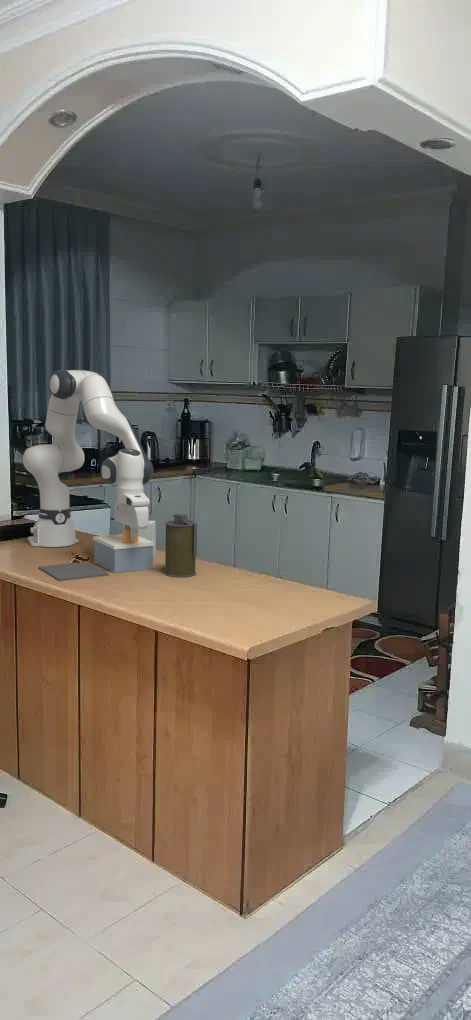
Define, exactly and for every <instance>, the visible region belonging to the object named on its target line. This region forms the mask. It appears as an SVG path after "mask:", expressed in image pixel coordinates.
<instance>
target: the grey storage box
mask: <svg viewBox="0 0 471 1020" xmlns="http://www.w3.org/2000/svg"><path fill="white" fill-rule="evenodd" d="M93 561H94V562H93V563H95V564H97V565H98V566H100V567H103V568H104V569H106V570H107V571H110V572H113V573H114V574H117V573H118V574H119V573H127V572H135V571H137V572H138V571H144V570H153V568H154V565H153V564H154V556H153V546H146V547H135V548H125V549H112V548H110V547H108V546H105V545H103V544H101V543H98V542H96V541H94V540H93Z"/></svg>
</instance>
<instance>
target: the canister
mask: <svg viewBox="0 0 471 1020" xmlns="http://www.w3.org/2000/svg"><path fill="white" fill-rule="evenodd" d="M172 517H173V518H174V519H173V520H168V521H165V522H164V524H165V556H164V557H165V564H164V565H165V569H164V575H165V576H168V577H171V578H188V577H189V578H191V577H193V576H195V575H197V572H196V556H198V547H197V546H198V523H197V522H196V521H194V520H189V519H188V515H187V514H186V513H185V514H183V513H182V514H181V513H176V514H173V515H172Z"/></svg>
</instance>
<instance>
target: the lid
mask: <svg viewBox="0 0 471 1020" xmlns="http://www.w3.org/2000/svg"><path fill="white" fill-rule="evenodd" d="M121 532H122V533H121V534H120V533H119V534H110V535H108V534H107V535H98V536H97V535H95V536H92V541H93V542H94V541H96V542H98V543H101V544H103V545H105V546H108V547H110V548H112V549H125V548H135V547H146V546H154V542H152V541H150V540H147V539H144V538H142V537H139V536H138V530H137V532H136V538H135V539H130V538H129V534H130V532H131V529H124V528H123V529H122V530H121Z"/></svg>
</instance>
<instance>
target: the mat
mask: <svg viewBox="0 0 471 1020" xmlns="http://www.w3.org/2000/svg"><path fill="white" fill-rule="evenodd" d="M38 569H39V570H41V571H42V572H44V573H46V574H47V575H49V576H51V578H54V580H57V581H58V582H62V581H71V580H79V579H88V578H96V577H97V578H98V577H104V576H110V573H109V572H106V570H103V569H101V568H99V567H98V566H95V565H94V564H92V563H90V562H88V563H77V562H69V563H58V564H50V565H41V566H38Z"/></svg>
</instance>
